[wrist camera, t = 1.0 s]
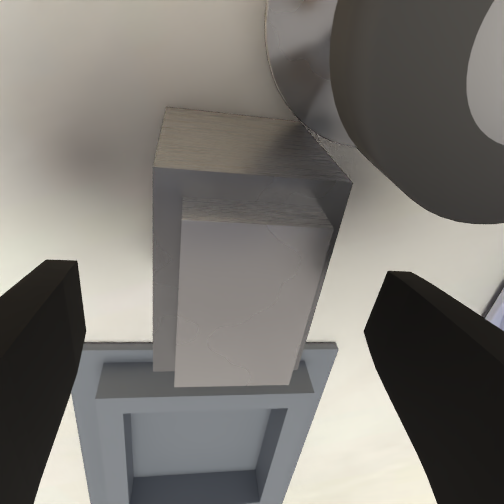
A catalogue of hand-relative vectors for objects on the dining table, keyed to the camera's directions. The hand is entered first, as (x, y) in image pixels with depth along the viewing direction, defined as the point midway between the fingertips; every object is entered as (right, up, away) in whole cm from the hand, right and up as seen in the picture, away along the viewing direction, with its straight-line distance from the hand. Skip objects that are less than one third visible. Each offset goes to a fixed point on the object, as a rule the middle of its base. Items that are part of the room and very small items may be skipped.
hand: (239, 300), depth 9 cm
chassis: (-3, -10, +13) cm, 17 cm away
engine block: (-1, +3, +4) cm, 5 cm away
